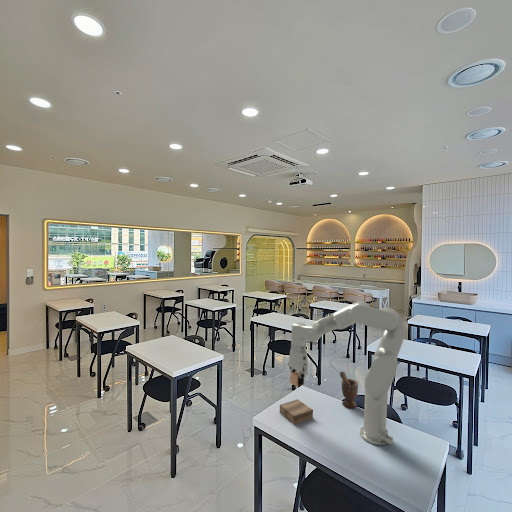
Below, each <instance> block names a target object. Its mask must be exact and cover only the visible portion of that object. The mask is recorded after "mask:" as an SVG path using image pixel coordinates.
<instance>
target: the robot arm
mask: <svg viewBox="0 0 512 512" xmlns="http://www.w3.org/2000/svg"><path fill="white" fill-rule="evenodd" d="M357 323H358V324H360V325H364V326H367V327H369V328H370V327H371V328H374V329H377V330H381V331H383V333H382V336H381V338H380V342H379V344H378V346H377V349H376V350H375V352H374V355H373V360H372V363H371V366H370V368H368V370H367V371H366V373H365V379H364V407H363V408H364V412H363V426H362V427H360V429H359V435H360V436H361V438H363V440H365V441H366V442H368V443H370V444H372V445H376V446H377V445H378V446H385V445H387V444H389V445H390V446H392V445H393V444H394V443H393V441H394V437H393V436H391V435H389V430H388V429H387V416H388V414H387V413H388V410H387V409H388V392H389V391H390V388H391V386H392V383H393V381H394V378H395V377H396V373H397V369H398V356H399V354H400V351H401V348H402V345H403V342H404V339H405V334H406V330H405V324H404V320H403V319H402V317H401V315H399V313H398V312H397V311H396V310H395V309H394V308H392V307H389V306H387V307H386V306H385V307H381V308H380V309H379V308H375V307H372V306H370V305H369V304H368V303H367V302H366V301H363V300H359V301H358V300H357V301H355V302H353V303H352V304H349V305H347V306H345V307H344V308H341V309H338V310H337V311H335V312H332V313H331V314H328V315H327V316H325V317H322V318H320V319H318V320H317V321H314V322H313V323H311V324H310V325H309V326H307V325H306V324H305V323H303V322H294V323H292V325H291V337H290V338H291V339H290V340H291V341H290V342H291V343H290V349H289V350H290V351H289V357H288V358H289V359H288V363H287V365H288V367H289V370H290V371H289V372H290V374H291V373H293V372H297V371H298V372H299V377H298V385H299V386H298V387H300V386H304V385H305V377H306V376H307V375H309V372H308V371H309V370H308V369H309V365H308V364H309V363H308V361H309V359H308V353H307V342H311V343H312V342H313V343H316V342H318V341H319V339H320V338H321V337H322V336H323V335H325V334H329V333H330V332H332V331H334V330H344V329H346V328H348V327H350V326H352V325H354V324H357ZM301 373H302V374H301ZM303 384H304V385H303Z"/></svg>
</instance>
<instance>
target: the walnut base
mask: <svg viewBox="0 0 512 512" xmlns="http://www.w3.org/2000/svg"><path fill="white" fill-rule="evenodd" d="M279 413H280V414H281V415H282V417H283V416H284V417H285V418H286V419H287V420H288V421H289V422H290V423H291V424H293V425H297V424H300V423H302V422H305V421H308V420H311V419H313V417H314V410H313V409H312V408H311V407H309V406H308V405H306V404H305V403H304V402H302V401H301V400H300V399H298V398H297V399H295V400H291V401H287V402H285V403H281V404H279Z"/></svg>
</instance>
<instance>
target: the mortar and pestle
mask: <svg viewBox="0 0 512 512" xmlns="http://www.w3.org/2000/svg"><path fill="white" fill-rule="evenodd" d="M339 376H340V378H341V392H342V396H343V397H344V399H343V400H342V402H341V403H342V405H343V407H344V408H347V409H355V408H357V403H356V401H355V400H354V399H356V398H357V396H358V393H359V392H358V391H359V382H358V381H357V380H355V379H351V378H348V377H347V374H346V373H345V371H340V372H339Z"/></svg>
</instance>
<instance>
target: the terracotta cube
mask: <svg viewBox="0 0 512 512" xmlns="http://www.w3.org/2000/svg"><path fill="white" fill-rule="evenodd" d="M301 374H302V372H301ZM289 376H290V378H289V380H290V381H289V382H290V384H291V385H293V386H295V387H300V386H299V385H298V377H299V372H298V371H297V370H296V372H293V373H291V372H290V375H289ZM304 385H305V383H304V384H303V385H302V386H304Z"/></svg>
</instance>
